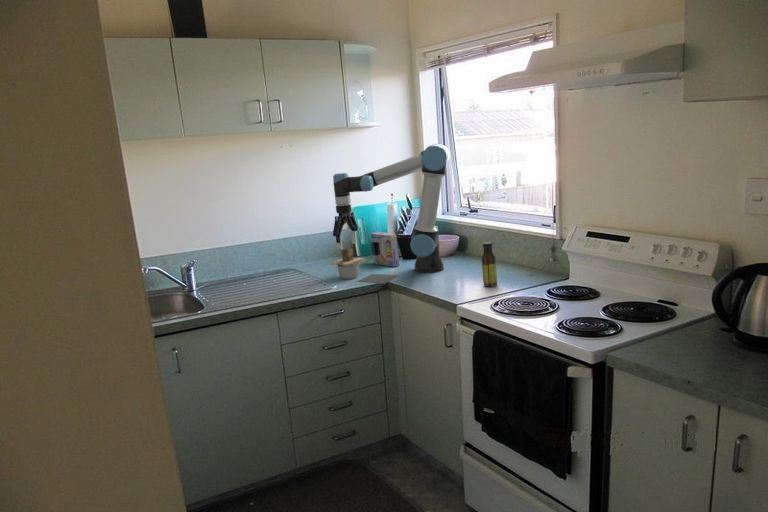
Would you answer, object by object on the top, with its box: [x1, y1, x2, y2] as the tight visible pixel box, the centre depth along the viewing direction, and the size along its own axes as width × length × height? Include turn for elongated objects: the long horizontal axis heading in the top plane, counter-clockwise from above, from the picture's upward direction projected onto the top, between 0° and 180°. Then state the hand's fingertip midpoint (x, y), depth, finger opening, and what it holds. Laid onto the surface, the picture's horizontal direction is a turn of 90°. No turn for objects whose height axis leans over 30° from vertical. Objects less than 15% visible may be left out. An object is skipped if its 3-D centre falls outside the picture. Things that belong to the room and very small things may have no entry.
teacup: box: [336, 263, 360, 280], centre depth 294 cm, size 14×11×8 cm
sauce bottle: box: [481, 241, 498, 287], centre depth 259 cm, size 7×6×20 cm
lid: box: [330, 247, 366, 266], centre depth 293 cm, size 13×13×7 cm
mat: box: [356, 273, 400, 285], centre depth 287 cm, size 16×16×1 cm
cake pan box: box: [370, 231, 400, 267], centre depth 316 cm, size 19×5×18 cm, turn 37°
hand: (347, 246), depth 292 cm, fingers open, 13 cm apart
